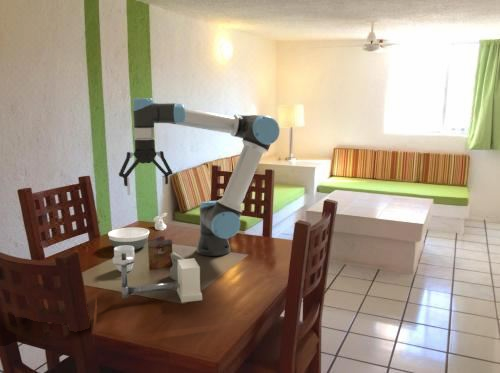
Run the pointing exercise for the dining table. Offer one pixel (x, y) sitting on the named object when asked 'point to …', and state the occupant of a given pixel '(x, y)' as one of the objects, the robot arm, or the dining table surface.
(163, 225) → the rabbit figurine
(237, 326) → the dining table surface
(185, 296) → the white upright block
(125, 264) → the l-shaped grey rod
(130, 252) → the mug
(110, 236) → the bowl
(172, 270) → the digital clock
